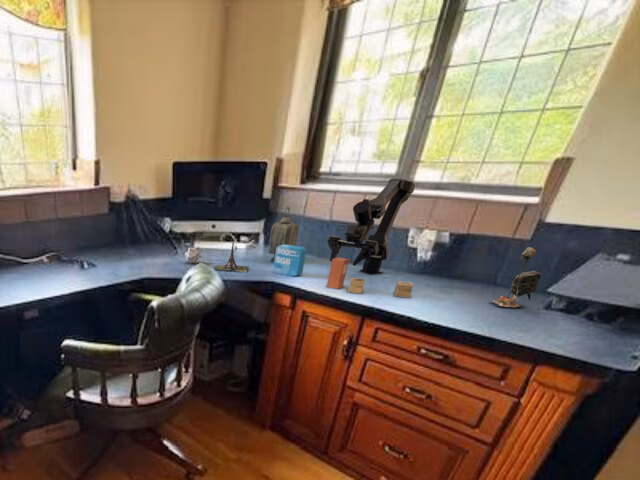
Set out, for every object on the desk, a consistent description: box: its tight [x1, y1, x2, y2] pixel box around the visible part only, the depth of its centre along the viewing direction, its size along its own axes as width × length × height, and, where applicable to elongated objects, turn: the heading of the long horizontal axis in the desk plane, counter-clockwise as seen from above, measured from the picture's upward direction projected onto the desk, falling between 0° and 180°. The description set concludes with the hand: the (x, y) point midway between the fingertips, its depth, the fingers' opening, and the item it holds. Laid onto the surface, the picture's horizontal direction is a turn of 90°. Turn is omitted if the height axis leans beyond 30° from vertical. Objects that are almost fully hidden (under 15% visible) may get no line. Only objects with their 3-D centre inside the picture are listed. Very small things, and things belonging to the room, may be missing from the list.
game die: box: [182, 246, 202, 265], centre depth 209 cm, size 9×8×10 cm
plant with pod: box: [491, 246, 542, 308], centre depth 141 cm, size 8×11×20 cm
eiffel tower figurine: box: [213, 241, 249, 274], centre depth 196 cm, size 15×10×13 cm
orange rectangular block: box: [326, 256, 350, 290], centre depth 167 cm, size 5×5×11 cm
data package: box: [272, 244, 307, 277], centre depth 186 cm, size 12×4×12 cm, turn 42°
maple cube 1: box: [347, 277, 365, 294], centre depth 162 cm, size 5×5×5 cm
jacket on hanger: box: [268, 206, 299, 262], centre depth 206 cm, size 14×9×25 cm, turn 144°
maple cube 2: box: [393, 280, 414, 299], centre depth 157 cm, size 5×5×5 cm
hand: (341, 263), depth 166 cm, fingers open, 9 cm apart
